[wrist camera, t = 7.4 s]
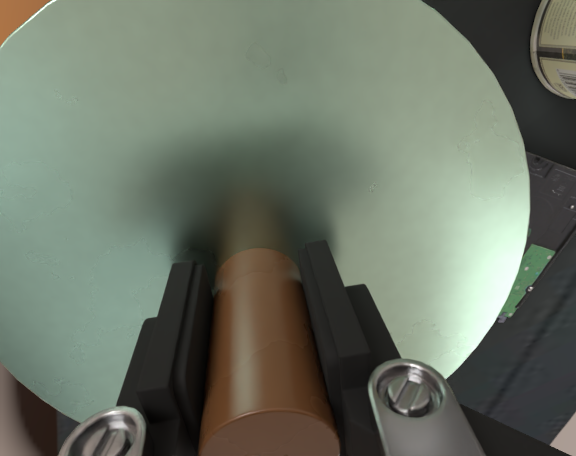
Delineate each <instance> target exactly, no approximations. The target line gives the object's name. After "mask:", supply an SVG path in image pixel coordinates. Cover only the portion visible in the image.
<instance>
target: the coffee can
mask: <svg viewBox="0 0 576 456" xmlns="http://www.w3.org/2000/svg"><path fill="white" fill-rule="evenodd" d="M530 55H531V61H532V65H533V69H534V71H535V73H536V75H537V77H538V78H539V80H540V82H541V83H542V84H543V85H544V86H545V87H546V88H547V89H548V90H550V91H551V92H552V93H554V94H556V95H559V96H561V97H565V98H570V99H576V0H542V1H541V4H540V6H539V8H538V10H537V13H536V16H535V20H534V24H533V27H532V33H531V39H530Z"/></svg>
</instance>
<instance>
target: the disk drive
mask: <svg viewBox="0 0 576 456" xmlns="http://www.w3.org/2000/svg"><path fill="white" fill-rule="evenodd" d="M525 153H526V158H527V164H528V170H529V176H530V218H529V226H528V234H527V242H526V245H525V249H524V253H523V257H522V260H521V264H520V268H519V271H518V274H517V276H516V279H515V281H514V284H513V286H512V289H511V291H510V293H509V296H508V298H507V300H506V302H505V304H504V306H503V307H502V309H501V311H500V313H499V314H498V316H497V318H496V320H498V322H504V321H505V320H506V318H507V317H511V316H512V315H513V313H514V312H515V310H516V309H517V308H520V306H521V305H522V304H523V303H524V301H525V300H526V299H527V297H528V295H529V294H530V293H531V291H532V289H533V288H534V287H535V286H536V285H537V283H538V282H539V281H540V279H541V278H542V277H543V275H544V274H545V273H546V271H547V270H548V269H549V267H550V266H551V264H552V263H553V262H554V260H555V259H556V258H557V257H558V256H559V254H560V252H561V251H562V250H563V249H564V247H565V246H566V245H567V243H568V242H569V241H570V239H571V238H572V236H573V235H574V234H575V232H576V170H574V169H572V168H569V167H566V166H564V165H561V164H559V163H556V162H554V161H551V160H549V159H546V158H543V157H541V156H538V155H536V154H533V153H531V152H528V151H525Z"/></svg>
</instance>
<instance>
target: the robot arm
mask: <svg viewBox="0 0 576 456" xmlns="http://www.w3.org/2000/svg"><path fill="white" fill-rule="evenodd" d="M298 256H299V264H300V272H301V281H302V286H303V290H304V294H305V299H306V303H307V307H308V311H309V316H310V320H311V324H312V328H313V333H314V337H315V341H316V345H317V349H318V354H319V358H320V362H321V366H322V371H323V375H324V379H325V383H326V388H327V392H328V396H329V400H330V404H331V407H332V409H333V412H334V416H335V420H336V424H337V428H338V432H339V437H340V441H341V451H340V456H571V455H569V454H566V453H564V452H562V451H560V450H558V449H556V448H554V447H551V446H549V445H547V444H545V443H543V442H541V441H539V440H536V439H534V438H532V437H530V436H528V435H526V434H524V433H521V432H519V431H517V430H515V429H513V428H511V427H509V426H506V425H504V424H502V423H500V422H498V421H496V420H494V419H491V418H489V417H487V416H485V415H483V414H481V413H479V412H476V411H474V410H472V409H470V408H468V407H466V406H464V405H461V404H459V403H458V401H457V399H456V397H455V395H454V393H453V391H452V389H451V388H450V386H449V384H448V382H447V381H446V380H445V378H444V377H443V376H442V374H440V373H439V372H438V371H437V370H435V369H434V368H433V367H431V366H429V365H427V364H425V363H423V362H421V361H417V360H412V359H402V358H401V356H400V354H399V352H398V350H397V348H396V346H395V343H394V341H393V339H392V337H391V335H390V333H389V331H388V329H387V327H386V325H385V323H384V321H383V319H382V317H381V314H380V312H379V310H378V308H377V306H376V304H375V302H374V300H373V298H372V296H371V294H370V292H369V290H368V288H367V286H366V285H365V284H358V285H352V286H344V284H343V281H342V279H341V276H340V274H339V271H338V268H337V266H336V263H335V261H334V258H333V256H332V253H331V251H330V248H329V246H328V243H327V241H326V240H319V241H313V242H306V243H305V248H303V249H298ZM212 307H213V295H212V291H211V287H210V283H209V279H208V275H207V272H206V268H205V265H204V264H201V265H197V262H196V261H195V260H191V261H184V262H178V263H173V264H172V266H171V270H170V273H169V277H168V280H167V284H166V287H165V291H164V294H163V298H162V301H161V305H160V308H159V312H158V315H157V317H152V318H147V319H146V320H144V322H143V325H142V327H141V331H140V334H139V337H138V340H137V343H136V346H135V349H134V352H133V355H132V358H131V361H130V364H129V367H128V370H127V373H126V376H125V379H124V382H123V385H122V388H121V391H120V394H119V397H118V400H117V403H116V406H115V407H110V408H107V409H104V410H101V411H99V412H97V413H96V414H94V415H92V416H90V417H88V418H87V419H86V420H85V421H83V422H82V423H81V424H80V425H79V426H77V427H76V428H75V429H74V431H73V432H72V433H71V434H70V435H69V437H68V438H67V439H66V441H65V443H64V445H63V447H62V448H61V450H60V453H59V455H58V456H198V447H199V437H200V427H201V417H202V407H203V397H204V387H205V377H206V367H207V357H208V347H209V337H210V327H211V317H212Z"/></svg>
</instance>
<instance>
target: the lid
mask: <svg viewBox="0 0 576 456" xmlns="http://www.w3.org/2000/svg"><path fill="white" fill-rule="evenodd" d="M529 218H530V176H529V170H528V164H527V158H526V153H525V147H524V142H523V139H522V136H521V133H520V130H519V127H518V124H517V122H516V119H515V116H514V113H513V110H512V107H511V106H510V104H509V102H508V100H507V98H506V96H505V94H504V92H503V91H502V89H501V87H500V85H499V83H498V81H497V79H496V77H495V76H494V74H493V72H492V71H491V70H490V68H489V67H488V66H487V64H486V63H485V62H484V61H483V59H482V58H481V57H480V55H479V54H478V53H477V51H476V50H475V49H474V47H473V46H472V45H471V43H470V42H469V41H468V40H467V39H466V38H465V37H464V36H463V35H462V34H461V33H460V32H459V31H458V30H456V29H455V28H454V27H453V26H452V25H451V24H450V23H449V22H448V21H447V20H446V19H445V18H444V17H443V16H442V15H441V14H440V13H438V12H437V11H436V10H435V9H433V8H432V7H430V6H429V5H427V4H426V3H424V2H423V1H421V0H51V1H49V2H48V3H47V4H45V5H44V6H43V7H42V8H41V9H39V10H38V11H37V12H36V13H35V14H34V15H32V16H31V17H30V18H29V19H28V20H26V21H25V22H24V23H23V24H22V25H21V26H19V27H18V28H17V29H16V30H15V31H14V32H12V33H11V34H10V35H9V36H8V38H7V39H6V40H5V41H4V42H3V44H2V45H1V46H0V362H1V363H2V364H3V365H4V366H5V367H6V368H7V369H8V371H9V372H10V373H11V374H12V375H13V376H14V377H15V378H16V379H17V380H19V381H20V382H21V383H22V384H23V385H25V386H26V387H27V388H28V389H29V390H31V391H32V392H33V393H34V394H36V395H37V396H38V397H39V398H41V399H42V400H43V401H45V402H46V403H48V404H49V405H51V406H52V407H54V408H56V409H57V410H59V411H60V412H62V413H63V414H65V415H66V416H68V417H70V418H72V419H74V420H76V421H78V422H80V423H82V422H83V421H85V420H86V419H87V418H88V417H90V416H92V415H94V414H96V413H97V412H99V411H101V410H104V409H107V408H110V407H115V406H116V403H117V400H118V397H119V394H120V391H121V388H122V385H123V382H124V379H125V376H126V373H127V370H128V367H129V364H130V361H131V358H132V355H133V352H134V349H135V346H136V343H137V340H138V337H139V334H140V331H141V327H142V325H143V322H144V320H146V319H147V318H152V317H157V315H158V312H159V308H160V305H161V301H162V298H163V294H164V291H165V287H166V284H167V280H168V277H169V273H170V270H171V266H172V264H173V263H178V262H184V261H191V260H195V261H196V262H197V265H201V264H204V265H205V268H206V272H207V275H208V279H209V283H210V287H211V291H212V295H213V307H212V317H211V327H210V337H209V347H208V357H207V367H206V377H205V387H204V397H203V407H202V417H201V427H200V437H199V447H198V456H340V451H341V441H340V437H339V432H338V428H337V424H336V420H335V416H334V412H333V409H332V407H331V404H330V400H329V396H328V392H327V388H326V383H325V379H324V375H323V371H322V366H321V362H320V358H319V354H318V349H317V345H316V341H315V337H314V333H313V328H312V324H311V320H310V316H309V311H308V307H307V303H306V299H305V294H304V290H303V286H302V281H301V272H300V264H299V256H298V249H303V248H305V243H306V242H313V241H319V240H326V241H327V243H328V246H329V248H330V251H331V253H332V256H333V258H334V261H335V263H336V266H337V268H338V271H339V274H340V276H341V279H342V281H343V284H344V286H352V285H358V284H365V285H366V286H367V288H368V290H369V292H370V294H371V296H372V298H373V300H374V302H375V304H376V306H377V308H378V310H379V312H380V314H381V317H382V319H383V321H384V323H385V325H386V327H387V329H388V331H389V333H390V335H391V337H392V339H393V341H394V343H395V346H396V348H397V350H398V352H399V354H400V356H401V358H402V359H412V360H417V361H421V362H423V363H425V364H427V365H429V366H431V367H433V368H434V369H435V370H437V371H438V372H439V373H440V374H442V376H443V377H444V378H445V379H446V378H447V377H449V376H450V375H451V374H452V373H453V372H454V371H455V370H456V369H457V368H458V367H459V366H460V365H461V364H462V363H463V362H464V361H465V359H466V358H467V357H468V356H469V355H470V354H471V353H472V352H473V350H474V349H475V348H476V347H477V346H478V344H479V343H480V342H481V340H482V339H483V337H484V336H485V335H486V333H487V332H488V330H489V329H490V328H491V326H492V325H493V323H494V322H495V320H496V318H497V316H498V314H499V313H500V311H501V309H502V307H503V306H504V304H505V302H506V300H507V298H508V296H509V293H510V291H511V289H512V286H513V284H514V281H515V279H516V276H517V274H518V271H519V268H520V264H521V260H522V257H523V253H524V249H525V245H526V242H527V234H528V226H529Z"/></svg>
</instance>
